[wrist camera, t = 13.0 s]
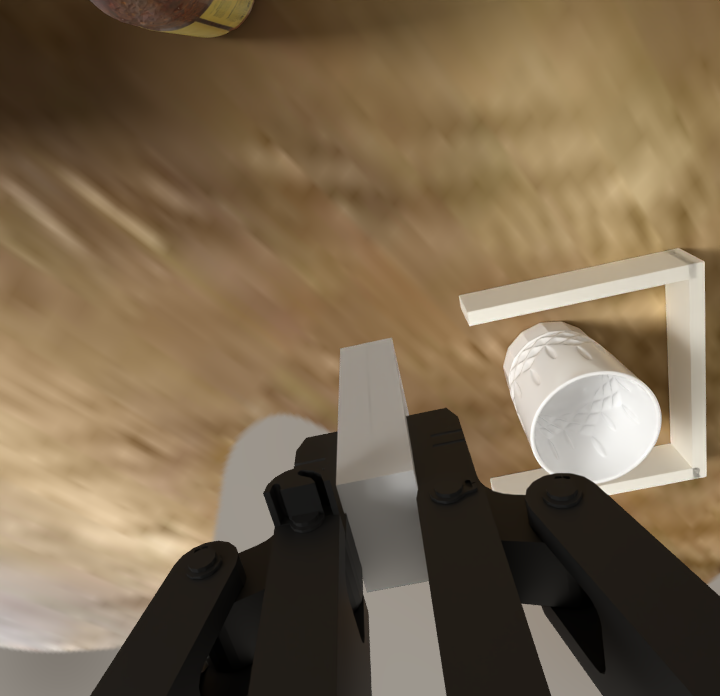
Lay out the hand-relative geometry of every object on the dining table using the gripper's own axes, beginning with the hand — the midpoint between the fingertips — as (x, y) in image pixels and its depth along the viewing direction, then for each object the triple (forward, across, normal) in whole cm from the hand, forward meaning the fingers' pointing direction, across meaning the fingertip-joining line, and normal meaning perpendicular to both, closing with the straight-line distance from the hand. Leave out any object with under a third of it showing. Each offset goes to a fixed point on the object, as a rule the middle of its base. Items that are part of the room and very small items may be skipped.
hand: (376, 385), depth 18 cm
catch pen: (+26, +13, -16) cm, 34 cm away
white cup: (+27, +11, -14) cm, 32 cm away
